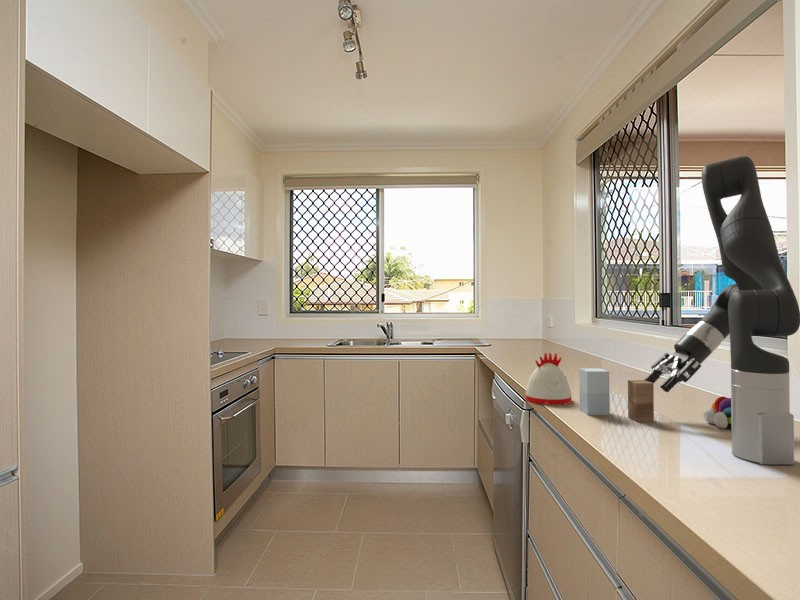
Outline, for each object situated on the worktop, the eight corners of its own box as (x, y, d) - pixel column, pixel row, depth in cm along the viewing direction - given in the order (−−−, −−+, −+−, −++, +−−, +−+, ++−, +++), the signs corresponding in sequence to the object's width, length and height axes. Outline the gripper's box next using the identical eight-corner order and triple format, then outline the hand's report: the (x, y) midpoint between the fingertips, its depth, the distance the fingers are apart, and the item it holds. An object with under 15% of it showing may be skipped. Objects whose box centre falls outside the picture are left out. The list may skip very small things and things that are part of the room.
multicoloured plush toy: (734, 421, 121) (734, 393, 121) (759, 432, 111) (758, 401, 112) (699, 421, 122) (699, 393, 122) (721, 431, 112) (721, 401, 112)
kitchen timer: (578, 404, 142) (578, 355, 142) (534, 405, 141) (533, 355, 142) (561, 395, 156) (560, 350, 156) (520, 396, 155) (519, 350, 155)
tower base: (609, 415, 128) (609, 393, 128) (587, 415, 129) (587, 393, 129) (600, 410, 134) (600, 389, 134) (579, 410, 135) (579, 389, 135)
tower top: (609, 393, 128) (609, 371, 128) (587, 393, 129) (587, 371, 129) (600, 389, 134) (600, 368, 134) (579, 389, 135) (579, 368, 135)
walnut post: (653, 421, 121) (653, 383, 121) (636, 421, 121) (635, 383, 121) (645, 417, 125) (644, 380, 125) (628, 417, 126) (627, 380, 126)
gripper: (673, 331, 130) (631, 372, 130) (705, 334, 116) (658, 381, 116) (693, 350, 130) (651, 391, 130) (727, 356, 116) (680, 402, 116)
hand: (654, 386), depth 123 cm, fingers open, 8 cm apart
